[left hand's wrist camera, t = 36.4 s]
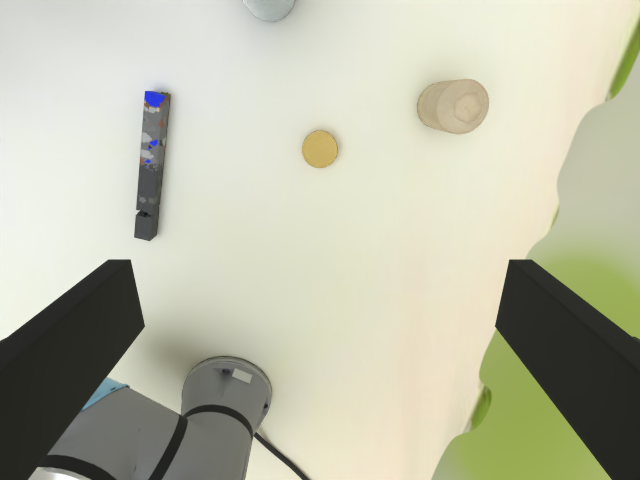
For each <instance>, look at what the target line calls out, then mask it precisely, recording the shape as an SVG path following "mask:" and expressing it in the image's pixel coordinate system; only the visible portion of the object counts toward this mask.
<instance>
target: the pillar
mask: <svg viewBox="0 0 640 480" xmlns="http://www.w3.org/2000/svg"><path fill="white" fill-rule="evenodd" d="M169 102H170V94H168V93H163V92H161V93H158V92H153V91H145V99H144V113H143V126H142V140H141V153H140V167H139V180H138V194H137V207H136V210H140V212H138V214H137V215H136V221H135V234H134V237H135V238H139V239H143V240H148V241H150V240H152V239H153V238H154V237H155V236H156V234H157V224H158V214H159V207H158V205H159V204H160V194H161V183H162V173H163V163H164V153H165V143H166V133H167V123H168V112H169Z"/></svg>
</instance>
